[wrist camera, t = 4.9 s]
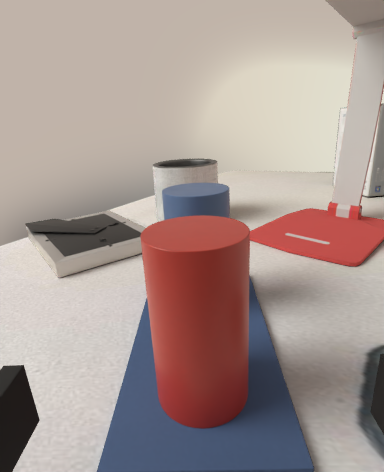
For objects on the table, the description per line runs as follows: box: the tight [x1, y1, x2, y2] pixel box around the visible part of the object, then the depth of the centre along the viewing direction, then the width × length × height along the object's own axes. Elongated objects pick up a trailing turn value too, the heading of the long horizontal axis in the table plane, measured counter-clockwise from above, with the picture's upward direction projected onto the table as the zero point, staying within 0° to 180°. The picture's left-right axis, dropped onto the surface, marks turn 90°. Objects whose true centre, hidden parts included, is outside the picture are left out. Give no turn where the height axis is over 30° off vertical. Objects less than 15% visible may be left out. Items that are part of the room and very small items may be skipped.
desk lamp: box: [250, 0, 384, 266], centre depth 45 cm, size 18×38×40 cm, turn 134°
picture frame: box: [26, 211, 145, 278], centre depth 54 cm, size 16×3×21 cm
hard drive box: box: [333, 104, 384, 197], centre depth 77 cm, size 16×8×20 cm, turn 8°
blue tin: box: [162, 183, 230, 220], centre depth 32 cm, size 6×6×12 cm
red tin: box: [140, 215, 250, 428], centre depth 21 cm, size 6×6×12 cm
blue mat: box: [97, 275, 314, 472], centre depth 29 cm, size 24×12×1 cm, turn 179°
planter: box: [153, 159, 218, 221], centre depth 63 cm, size 12×13×11 cm
